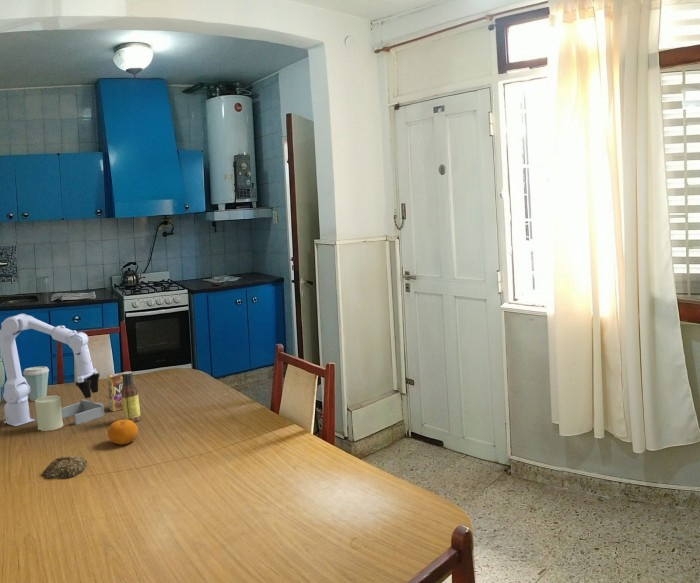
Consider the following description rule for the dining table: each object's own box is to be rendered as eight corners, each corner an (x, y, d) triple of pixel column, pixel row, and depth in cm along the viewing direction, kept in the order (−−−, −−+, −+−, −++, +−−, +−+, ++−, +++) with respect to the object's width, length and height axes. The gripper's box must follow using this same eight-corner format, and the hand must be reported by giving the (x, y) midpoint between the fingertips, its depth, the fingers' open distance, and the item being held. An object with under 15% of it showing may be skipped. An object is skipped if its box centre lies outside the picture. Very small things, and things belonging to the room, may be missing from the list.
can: (39, 424, 249) (36, 395, 247) (64, 421, 252) (62, 393, 250) (35, 432, 240) (32, 402, 239) (61, 429, 243) (58, 399, 241)
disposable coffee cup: (26, 398, 288) (23, 366, 286) (52, 394, 292) (48, 363, 290) (25, 404, 278) (21, 371, 276) (51, 400, 283) (48, 368, 281)
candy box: (113, 412, 262) (110, 376, 260) (109, 409, 265) (106, 375, 263) (133, 406, 268) (131, 372, 266) (129, 404, 271) (126, 370, 270)
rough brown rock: (92, 463, 209) (90, 449, 208) (77, 479, 196) (75, 464, 196) (53, 465, 208) (51, 450, 208) (36, 481, 196) (34, 465, 195)
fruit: (107, 449, 220) (105, 427, 219) (110, 439, 230) (108, 418, 229) (138, 445, 223) (136, 424, 222) (139, 435, 233) (138, 415, 232)
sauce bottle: (143, 417, 253) (139, 370, 250) (136, 423, 247) (132, 374, 244) (128, 418, 254) (124, 370, 251) (121, 423, 248) (116, 374, 245)
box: (56, 419, 255) (54, 407, 255) (84, 410, 266) (83, 399, 265) (76, 424, 247) (75, 412, 247) (104, 415, 258) (103, 404, 257)
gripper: (86, 365, 242) (94, 398, 244) (100, 356, 257) (107, 388, 259) (68, 368, 242) (77, 401, 244) (83, 359, 257) (91, 391, 258)
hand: (91, 395), depth 251 cm, fingers open, 7 cm apart
